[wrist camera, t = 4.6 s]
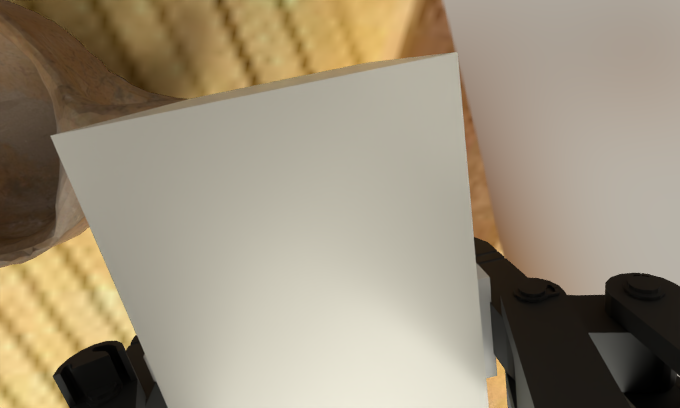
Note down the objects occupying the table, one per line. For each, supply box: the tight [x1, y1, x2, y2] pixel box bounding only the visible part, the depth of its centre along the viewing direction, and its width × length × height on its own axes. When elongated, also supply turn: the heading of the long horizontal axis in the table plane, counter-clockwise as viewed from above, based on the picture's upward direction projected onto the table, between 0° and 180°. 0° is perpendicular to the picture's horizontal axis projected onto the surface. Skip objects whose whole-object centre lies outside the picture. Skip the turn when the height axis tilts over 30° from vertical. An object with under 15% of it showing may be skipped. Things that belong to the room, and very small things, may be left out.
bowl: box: [0, 0, 187, 268], centre depth 20 cm, size 18×14×10 cm
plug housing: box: [51, 52, 489, 408], centre depth 12 cm, size 12×6×8 cm, turn 11°
